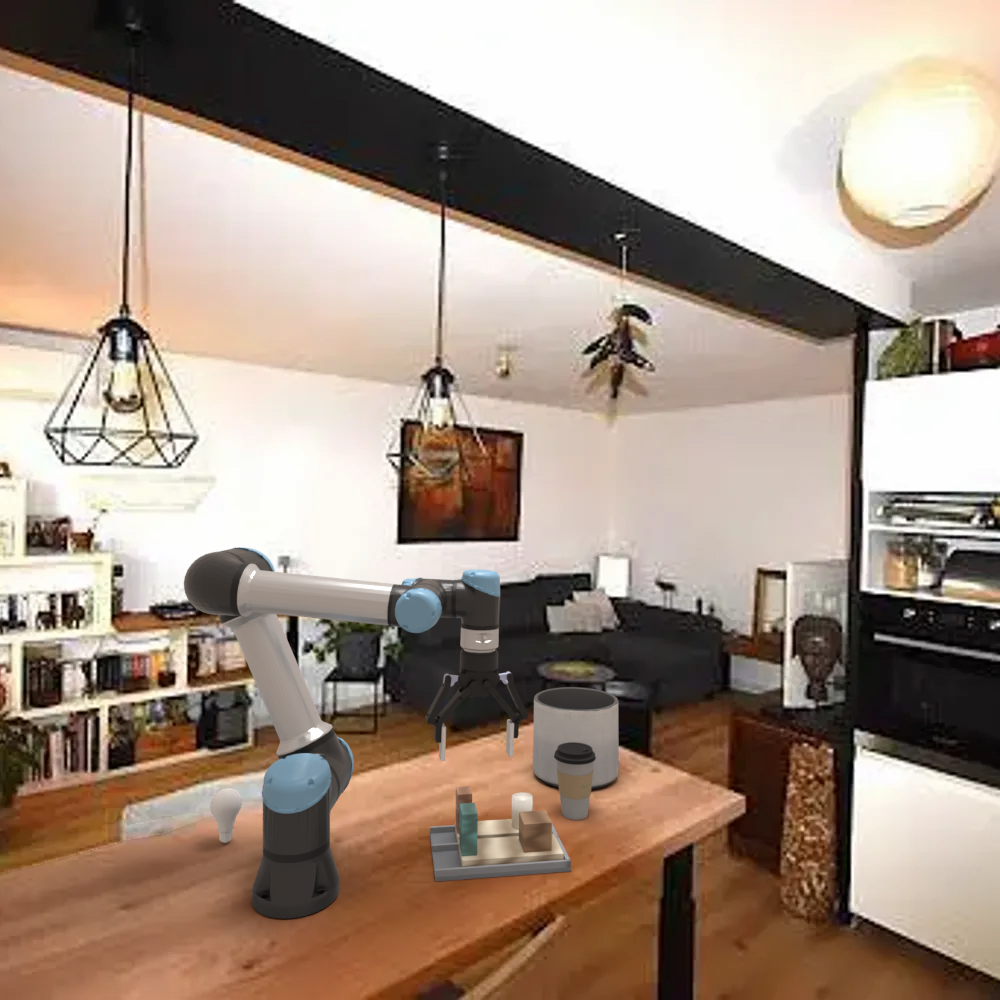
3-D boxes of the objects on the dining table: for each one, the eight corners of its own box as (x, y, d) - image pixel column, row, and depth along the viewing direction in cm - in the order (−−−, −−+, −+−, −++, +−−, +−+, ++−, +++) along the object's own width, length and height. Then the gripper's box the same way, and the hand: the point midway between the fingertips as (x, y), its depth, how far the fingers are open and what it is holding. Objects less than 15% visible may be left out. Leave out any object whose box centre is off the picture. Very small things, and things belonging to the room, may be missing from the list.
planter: (536, 757, 197) (537, 685, 197) (617, 762, 194) (618, 688, 193) (528, 790, 175) (529, 708, 175) (619, 795, 172) (620, 712, 172)
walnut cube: (523, 852, 138) (524, 824, 138) (518, 839, 143) (519, 812, 143) (551, 850, 139) (551, 822, 139) (545, 837, 144) (545, 810, 144)
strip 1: (457, 846, 144) (458, 797, 144) (455, 831, 150) (455, 784, 150) (552, 840, 147) (552, 791, 147) (545, 826, 153) (546, 779, 153)
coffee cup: (593, 825, 156) (594, 757, 156) (551, 821, 158) (551, 753, 158) (596, 807, 165) (597, 742, 165) (556, 803, 167) (556, 739, 167)
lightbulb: (204, 842, 147) (204, 789, 147) (232, 832, 152) (233, 781, 152) (218, 852, 143) (218, 798, 143) (246, 842, 147) (247, 789, 147)
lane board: (435, 881, 133) (435, 870, 133) (430, 835, 151) (430, 826, 151) (570, 871, 137) (570, 860, 137) (550, 828, 155) (550, 818, 154)
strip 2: (462, 871, 135) (462, 818, 135) (458, 849, 143) (458, 800, 143) (563, 863, 138) (563, 812, 137) (553, 843, 146) (554, 794, 146)
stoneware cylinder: (513, 830, 147) (513, 801, 147) (510, 821, 151) (510, 792, 151) (534, 829, 147) (534, 800, 147) (530, 819, 152) (530, 791, 152)
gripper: (418, 654, 133) (415, 767, 133) (545, 651, 139) (542, 759, 139) (413, 646, 141) (410, 753, 141) (534, 643, 147) (531, 746, 147)
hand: (476, 756), depth 140 cm, fingers open, 13 cm apart
